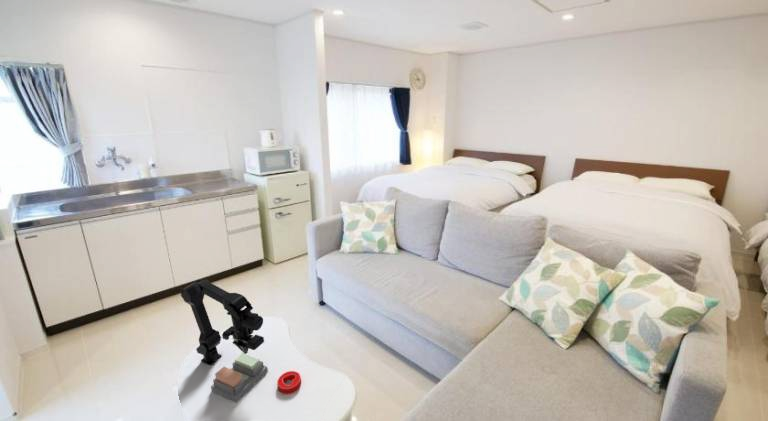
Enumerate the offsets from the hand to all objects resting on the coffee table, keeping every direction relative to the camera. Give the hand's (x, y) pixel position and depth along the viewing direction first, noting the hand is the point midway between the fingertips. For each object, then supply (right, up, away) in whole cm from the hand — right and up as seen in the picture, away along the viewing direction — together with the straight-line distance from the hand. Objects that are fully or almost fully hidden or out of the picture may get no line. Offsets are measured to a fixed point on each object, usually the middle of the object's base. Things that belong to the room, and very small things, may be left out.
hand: (246, 353), depth 146 cm
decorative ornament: (+20, -13, -3) cm, 24 cm away
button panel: (-2, -12, -1) cm, 12 cm away
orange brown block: (-4, -9, -6) cm, 12 cm away
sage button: (0, -7, +3) cm, 8 cm away
